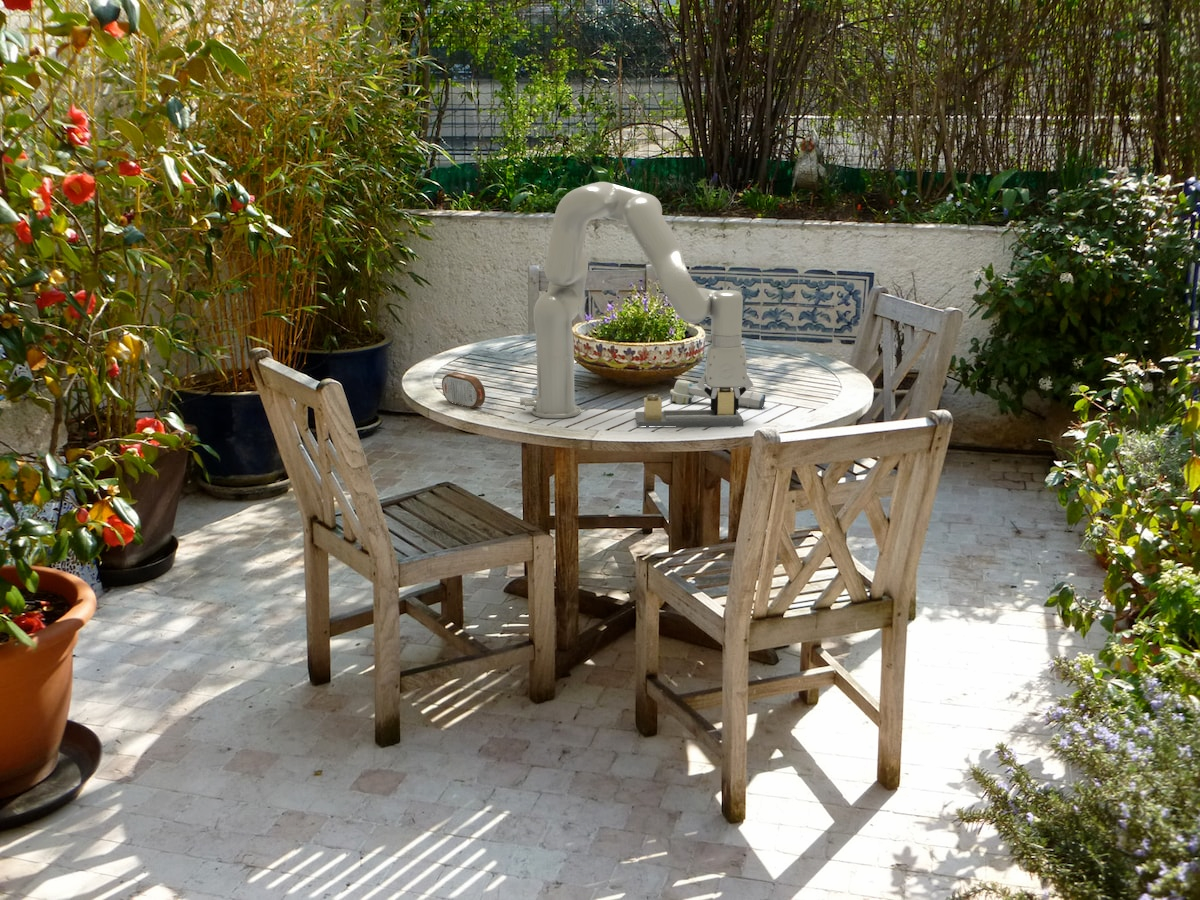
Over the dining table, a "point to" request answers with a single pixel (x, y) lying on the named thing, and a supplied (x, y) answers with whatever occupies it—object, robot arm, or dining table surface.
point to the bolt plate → (690, 419)
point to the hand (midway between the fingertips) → (724, 412)
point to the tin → (463, 389)
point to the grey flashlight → (687, 390)
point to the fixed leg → (652, 407)
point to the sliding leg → (725, 401)
